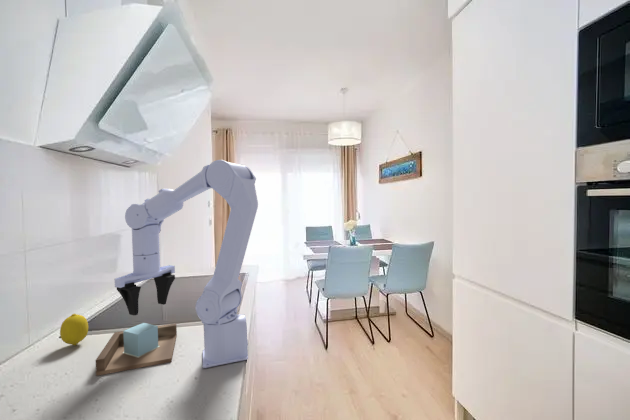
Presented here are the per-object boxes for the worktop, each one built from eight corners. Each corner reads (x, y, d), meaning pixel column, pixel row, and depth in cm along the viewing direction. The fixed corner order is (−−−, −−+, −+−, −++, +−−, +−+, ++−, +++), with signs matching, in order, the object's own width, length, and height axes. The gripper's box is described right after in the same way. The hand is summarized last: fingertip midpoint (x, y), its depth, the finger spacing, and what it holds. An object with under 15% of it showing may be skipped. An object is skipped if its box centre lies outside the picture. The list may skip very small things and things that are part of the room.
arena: (176, 335, 79) (176, 323, 79) (171, 361, 66) (170, 347, 66) (115, 345, 74) (114, 332, 74) (96, 375, 61) (95, 360, 61)
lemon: (59, 346, 75) (57, 314, 74) (86, 338, 79) (85, 308, 78) (62, 353, 71) (61, 320, 71) (91, 344, 75) (89, 313, 75)
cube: (144, 342, 74) (143, 322, 73) (158, 346, 72) (157, 325, 71) (124, 352, 69) (123, 330, 69) (138, 356, 67) (137, 334, 67)
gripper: (160, 248, 81) (162, 297, 81) (104, 258, 68) (107, 317, 68) (180, 249, 78) (181, 300, 78) (125, 260, 65) (127, 321, 65)
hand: (148, 308), depth 73 cm, fingers open, 7 cm apart
